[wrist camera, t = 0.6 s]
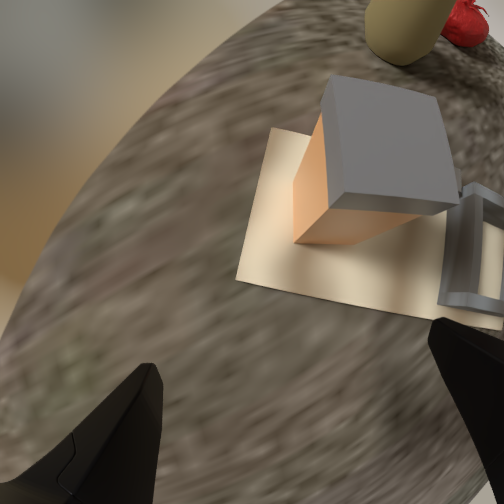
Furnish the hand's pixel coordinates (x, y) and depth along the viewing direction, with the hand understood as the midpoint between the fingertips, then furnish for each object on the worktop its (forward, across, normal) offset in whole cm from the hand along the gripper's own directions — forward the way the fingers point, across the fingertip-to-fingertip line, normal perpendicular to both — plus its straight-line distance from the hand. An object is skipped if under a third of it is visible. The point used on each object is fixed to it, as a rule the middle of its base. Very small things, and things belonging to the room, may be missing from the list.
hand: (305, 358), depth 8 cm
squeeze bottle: (+24, -17, -16) cm, 34 cm away
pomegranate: (+28, -32, -23) cm, 48 cm away
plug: (+14, -5, 0) cm, 14 cm away
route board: (+13, -12, +2) cm, 18 cm away
